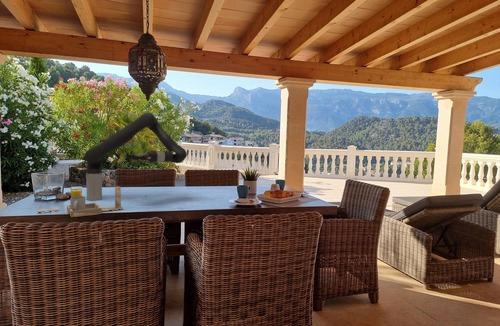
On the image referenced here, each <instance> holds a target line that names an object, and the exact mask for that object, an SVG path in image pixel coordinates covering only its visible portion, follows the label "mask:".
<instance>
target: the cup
mask: <svg viewBox="0 0 500 326" xmlns="http://www.w3.org/2000/svg"><path fill="white" fill-rule="evenodd" d="M69 200H70V205H71V209H72V210H73V211H78V210H86V209H85V204H86V196H82V195H79V196H78V195H76V196H71V197H70V199H69Z"/></svg>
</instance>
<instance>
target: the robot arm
mask: <svg viewBox="0 0 500 326" xmlns="http://www.w3.org/2000/svg"><path fill="white" fill-rule="evenodd" d="M146 128H148V129H149V130H150V131H151V132H153V133H154V135H155V136H156V137H157V138H158V140H159V141H160V143H161V144H162V145H163V146H164V147H165V149H167V150H164V151H163V150H148V151H147V153H134V154H127V159H131V160H132V161H147V162H148V163H149V164H153V163H155V164H157V163H158V164H159V163H169V162H170V163H174V164H181V163H183V162H184V161H185V159H186V158H187V156H188V154H187V151H186V149H184V148H183V147H182V146H181V145H179V144H177V143H176V141H175V140H174V139H173V138H172V137H171V136H170V135H169V134H168V132H167V131H165V129H163V127H162V126H161V124H160V122H159V121H158V120H157V117H156V116H155V115H154V114H153V113H152V112H144V113H142V114H140V116H139V117H138V118H136V119H135V120H134V121H132V122H131V123H129V124H128V125H126V126H124V127H123V128H121V129H119V130H117V131H116V132H114V133H113V134H111V135H110V136H108V138H106V139H105V140H104V141H101V143H100V144H97V145H96V146H94V147H91V148H90V149H87V150H86V151H85V153H84V160H85V162H87V167H86V168H85V170H86V172H85V176H86V177H85V178H86V200H88V201H99V200H102V199H103V159H104V158H103V157H104V156H106V155H108V154H109V153H110V152H114V151H115V150H117V149H119V148H120V147H122V146H124V145H126V144H127V143H128V142H130V141H131V140H132V139H134V137H135V136H136V135H137V134H138V133H139V132H140V131H142V130H144V129H146Z"/></svg>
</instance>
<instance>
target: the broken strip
mask: <svg viewBox="0 0 500 326" xmlns="http://www.w3.org/2000/svg"><path fill="white" fill-rule="evenodd" d="M37 210H38V211H37V213H38V212H45V211H57V212H60V208H59V207H51V208H42V209H40V208H39V209H37Z"/></svg>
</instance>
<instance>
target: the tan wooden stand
mask: <svg viewBox="0 0 500 326" xmlns="http://www.w3.org/2000/svg"><path fill="white" fill-rule="evenodd" d="M121 188H122V187H121V186H115V187H114V201H115V202H114V205H113V206H105V207H101V206H100V205H99V204H98V203H97V202H92V203H85V210H78V211H73V210H72V209H71V204H70V205H66V211H68V212H67V213H68V215H69V214H70V215H69V216H70V218H78V217H85V216H95V215H102V214H103V212H110V211H109V210H112V211H118V210H119V209H120V210H123V209H124V208H123V206H121V205H122V204H121V202H122V194H121V190H122V189H121ZM102 211H103V212H102Z"/></svg>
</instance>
